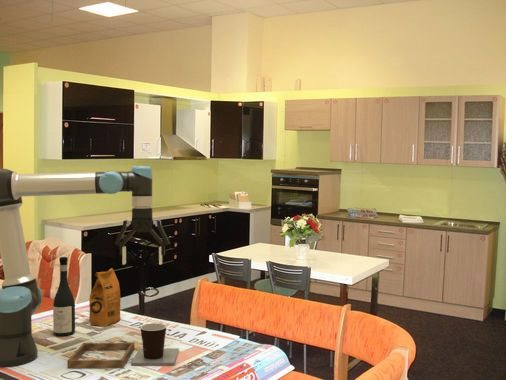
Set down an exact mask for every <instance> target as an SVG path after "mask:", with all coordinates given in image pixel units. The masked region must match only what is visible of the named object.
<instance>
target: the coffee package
mask: <svg viewBox="0 0 506 380" xmlns="http://www.w3.org/2000/svg"><path fill="white" fill-rule="evenodd" d="M94 275H95V277H96V278H97V279H96V281H95V283H94V286H93V288H92V290H91V291H90V294H89V301H88V302H89V315H88V316H89V319H88V322H89V325H91V326H95V325H96V326H95V327H100V326H101V327H102V328H103V327H104V328H105V327H107V326H109V325H111V324H113V325H114V324H115V323H116V324H117V322H119V321H121V289H120V282H119V280H118V278H117V275H116V273H115V270H114V269H113V268H112V267H111V268H110V269H109V270H107V271H100V272H97V271H96V273H94Z"/></svg>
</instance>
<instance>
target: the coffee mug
mask: <svg viewBox="0 0 506 380" xmlns="http://www.w3.org/2000/svg"><path fill="white" fill-rule="evenodd" d="M166 332H167V325H166V324H163V323H157V322H154V323H147V324H143V325H141V326H140V336H141V344H142V345H141V346H142V349H143V354H144V358H146V359H159V358H161V357H163V351H164V348H165V342H166V341H165V340H166V335H167V334H166Z"/></svg>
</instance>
